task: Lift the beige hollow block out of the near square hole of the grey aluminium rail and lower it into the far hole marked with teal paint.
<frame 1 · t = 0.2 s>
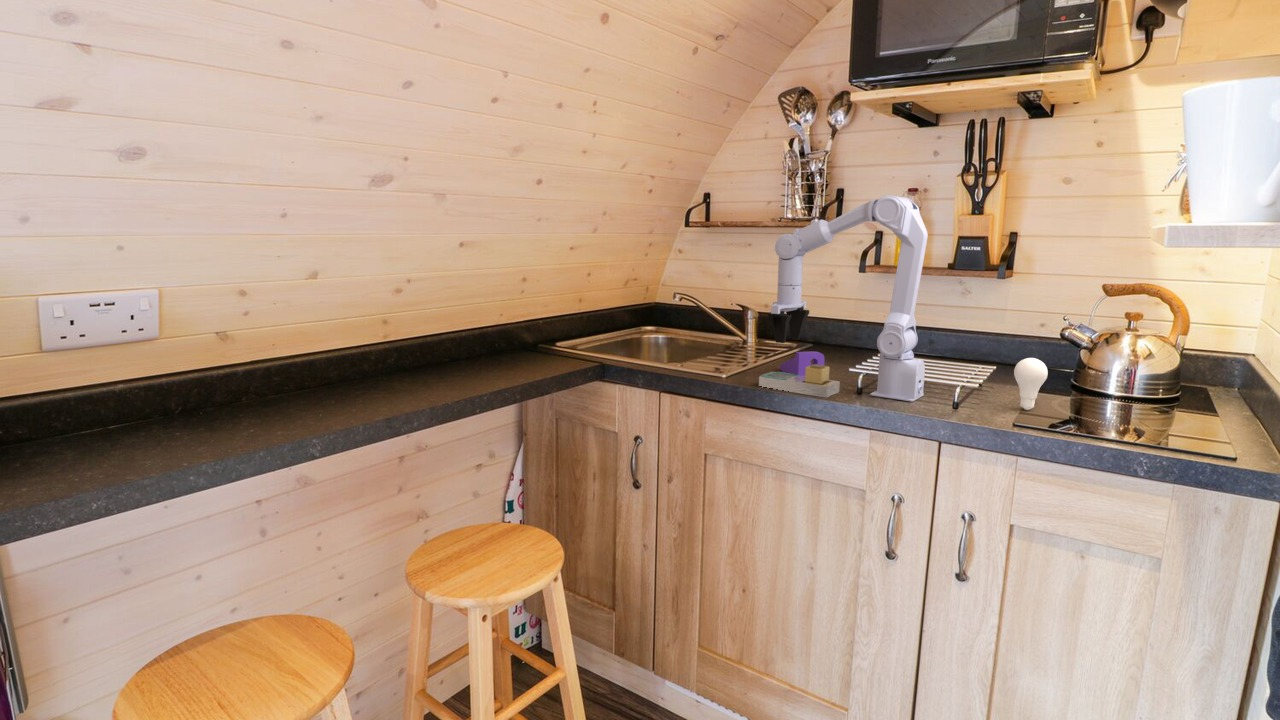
hand: (787, 340, 174), 10 cm above the counter, tool pointing down, fingers open, 7 cm apart
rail: (798, 389, 166), on the counter
bracket: (801, 375, 184), on the counter
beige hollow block: (816, 392, 163), resting in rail
lightbulb: (1026, 410, 148), on the counter
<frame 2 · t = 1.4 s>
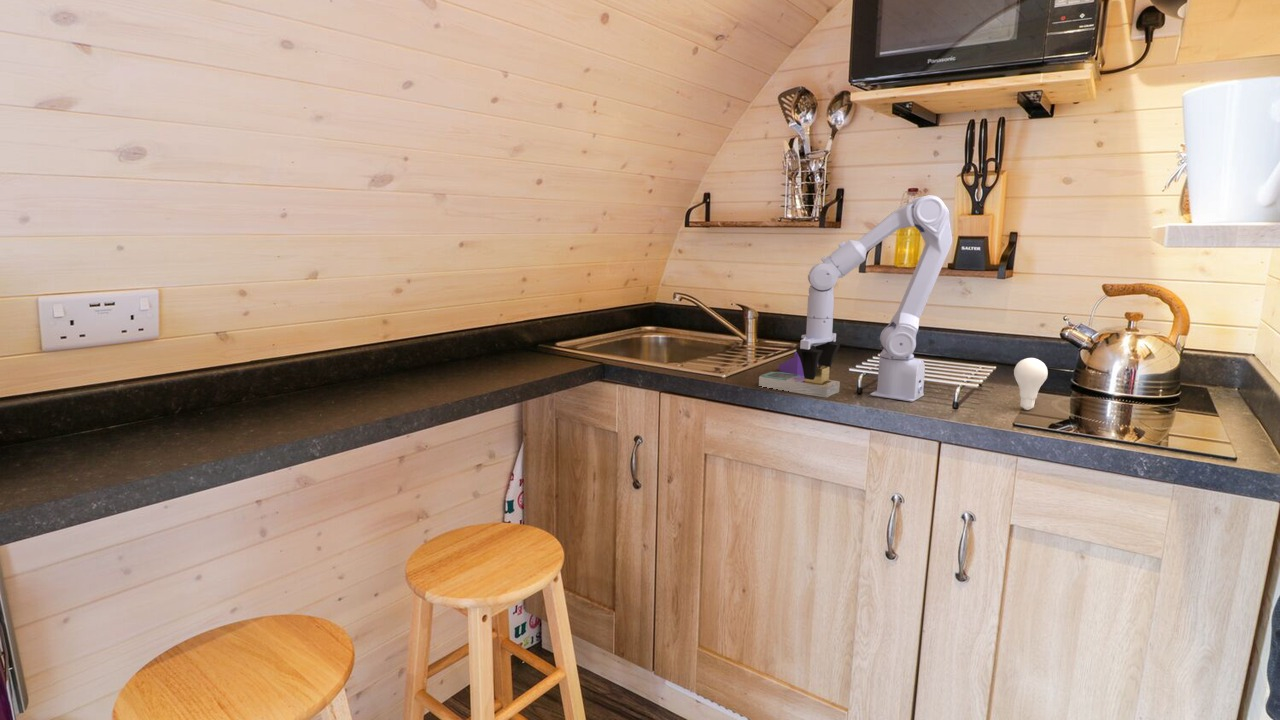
hand: (816, 376, 163), 4 cm above the counter, tool pointing down, fingers open, 7 cm apart
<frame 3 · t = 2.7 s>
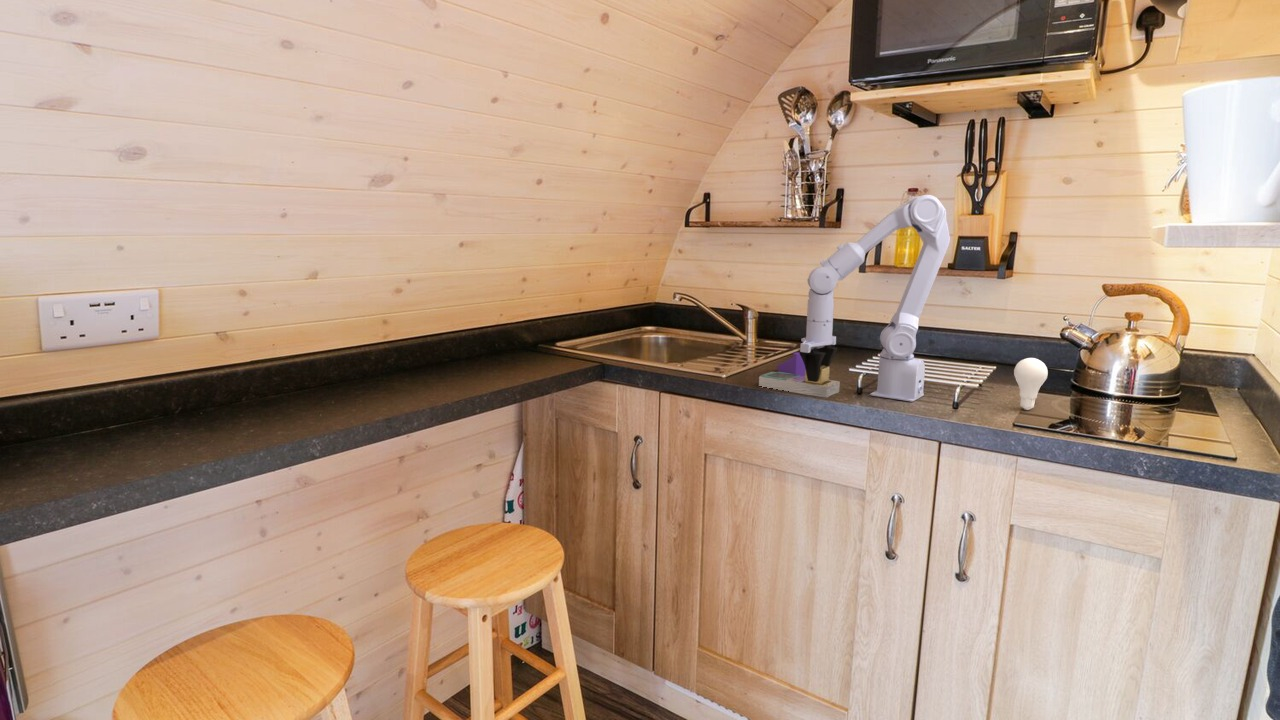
hand: (816, 379, 163), 3 cm above the counter, tool pointing down, fingers closed on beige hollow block, 4 cm apart
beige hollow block: (816, 392, 163), resting in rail, touching gripper
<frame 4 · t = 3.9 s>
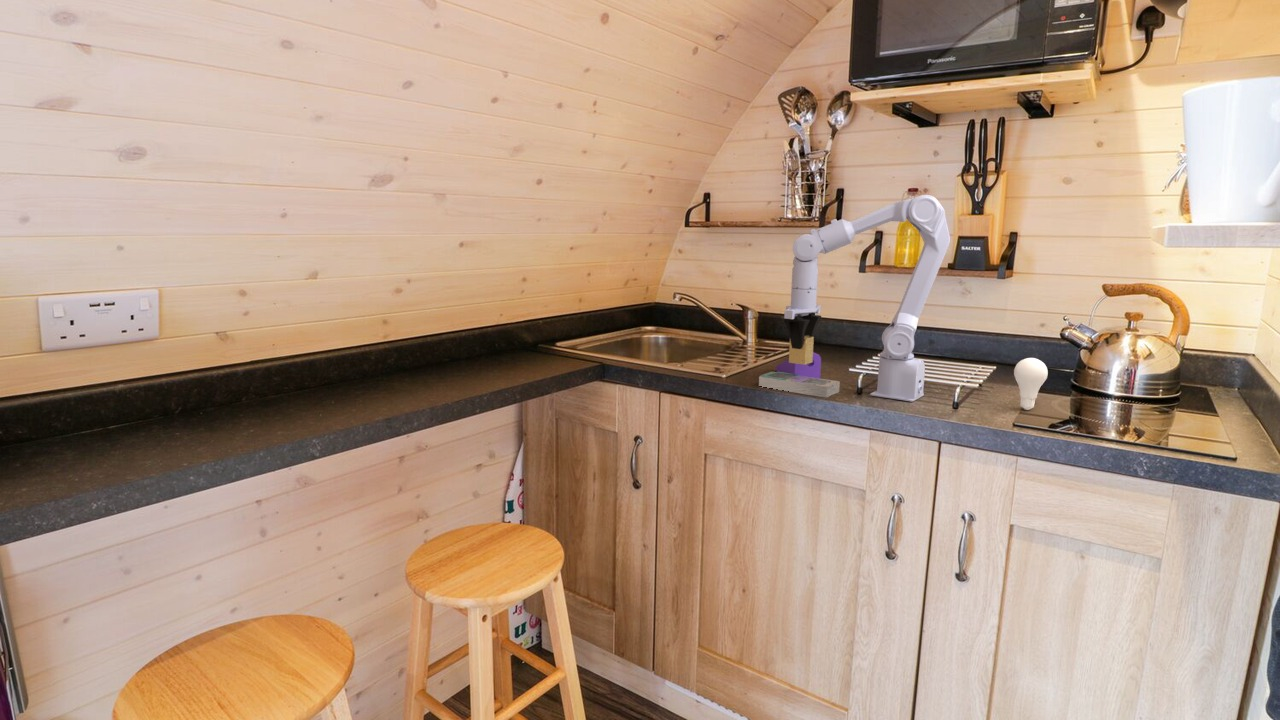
hand: (801, 347, 164), 10 cm above the counter, tool pointing down, fingers closed on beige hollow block, 4 cm apart
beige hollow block: (800, 362, 165), point 6 cm above the counter, touching gripper
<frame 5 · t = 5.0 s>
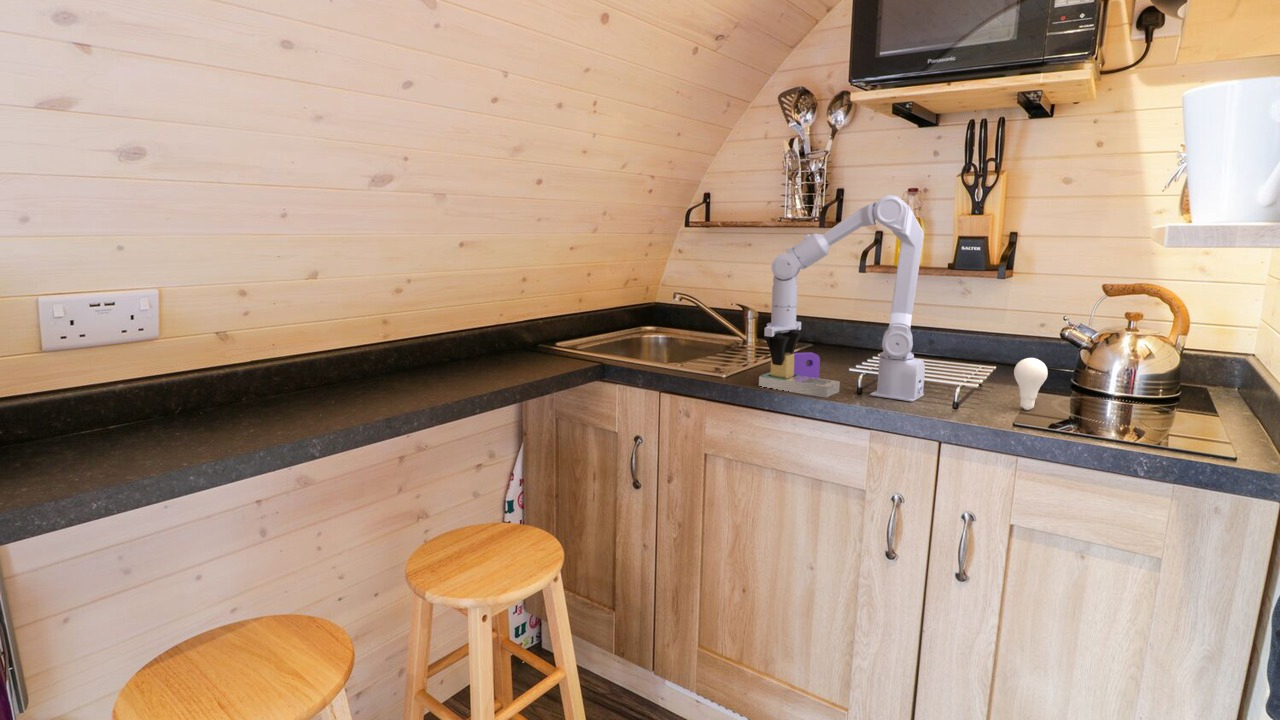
hand: (781, 363, 168), 6 cm above the counter, tool pointing down, fingers closed on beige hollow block, 4 cm apart
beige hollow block: (782, 378, 168), point 2 cm above the counter, touching gripper
when the fingers open (3 cm above the counter, at t = 6.3 s): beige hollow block stays where it is, resting in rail.
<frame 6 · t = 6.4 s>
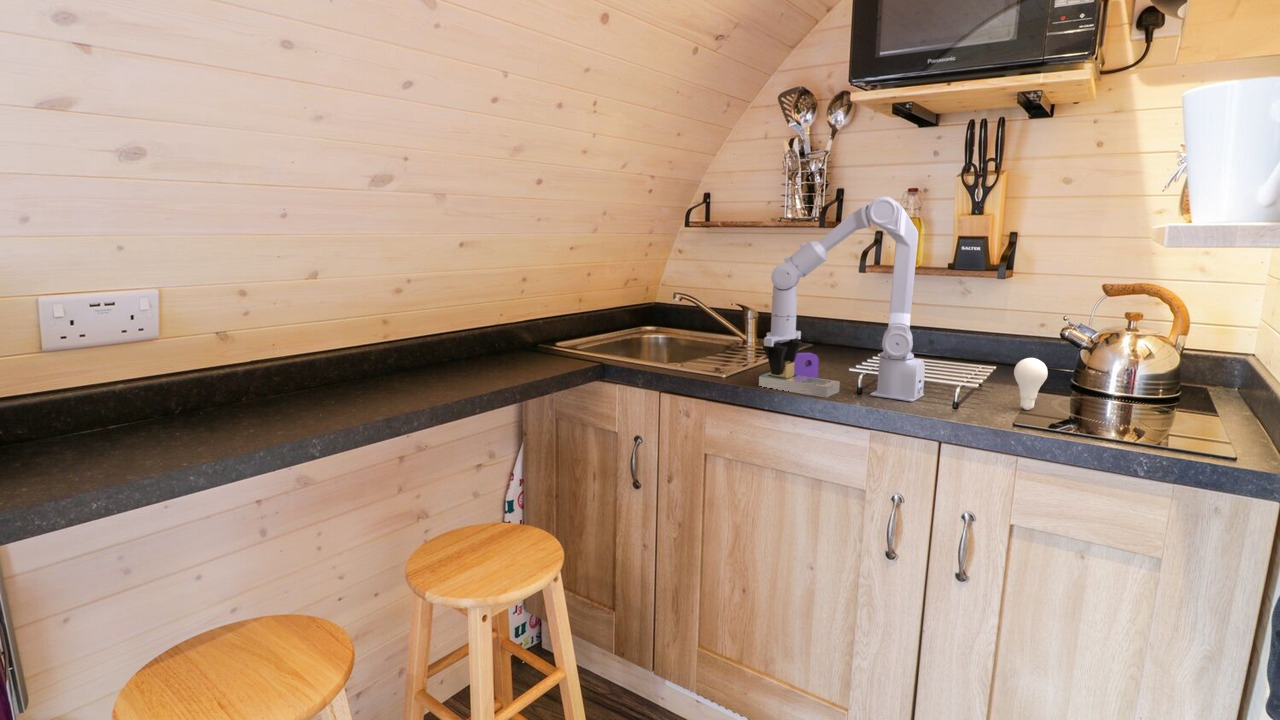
hand: (781, 372, 168), 3 cm above the counter, tool pointing down, fingers open, 5 cm apart
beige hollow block: (781, 387, 169), resting in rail
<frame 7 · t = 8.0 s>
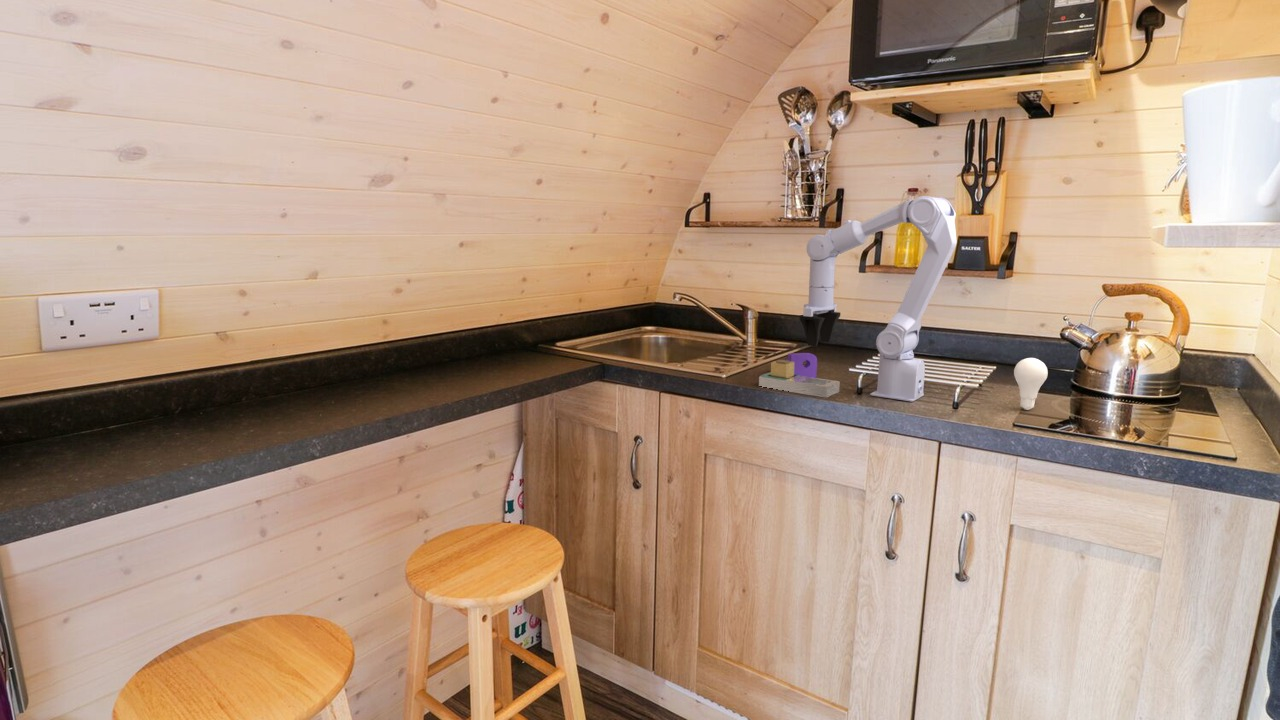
hand: (819, 343, 170), 10 cm above the counter, tool pointing down, fingers open, 7 cm apart
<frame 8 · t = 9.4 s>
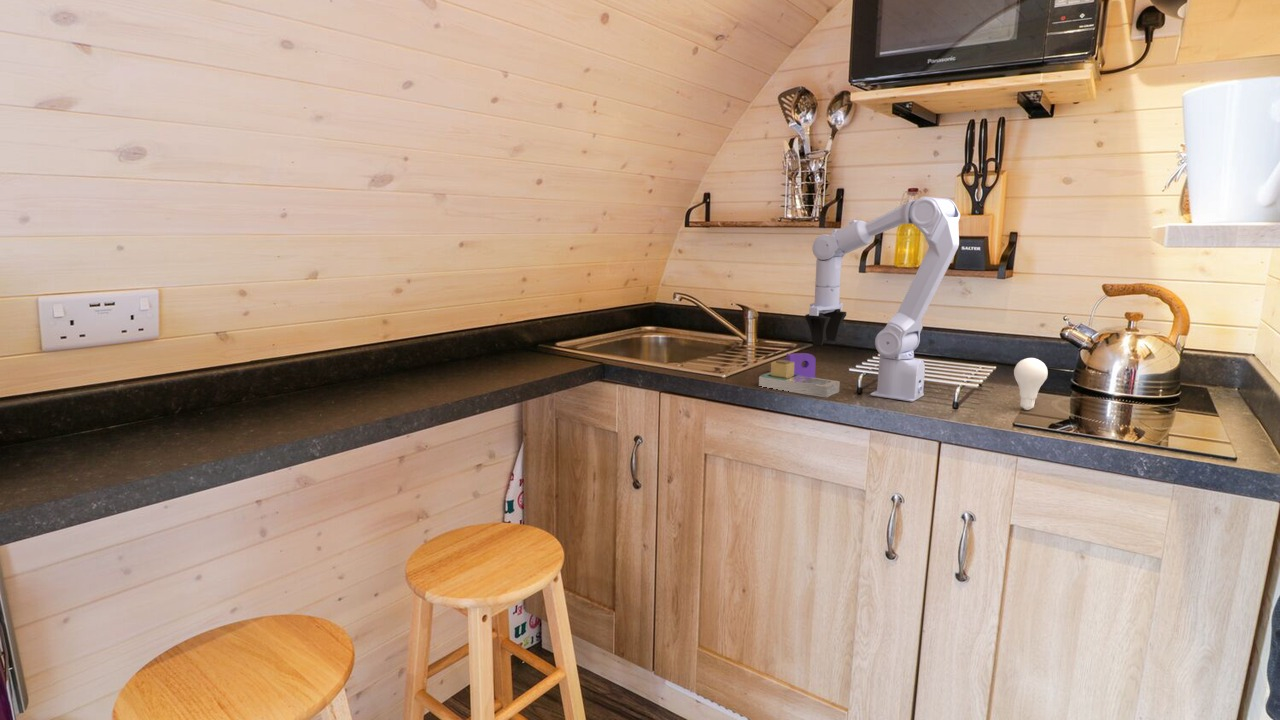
hand: (824, 342, 171), 10 cm above the counter, tool pointing down, fingers open, 7 cm apart
at the end: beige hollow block 0.2 cm from the target spot on the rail, point 0.0 cm above the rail's base; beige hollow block tilted 0°; the gripper is holding nothing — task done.
